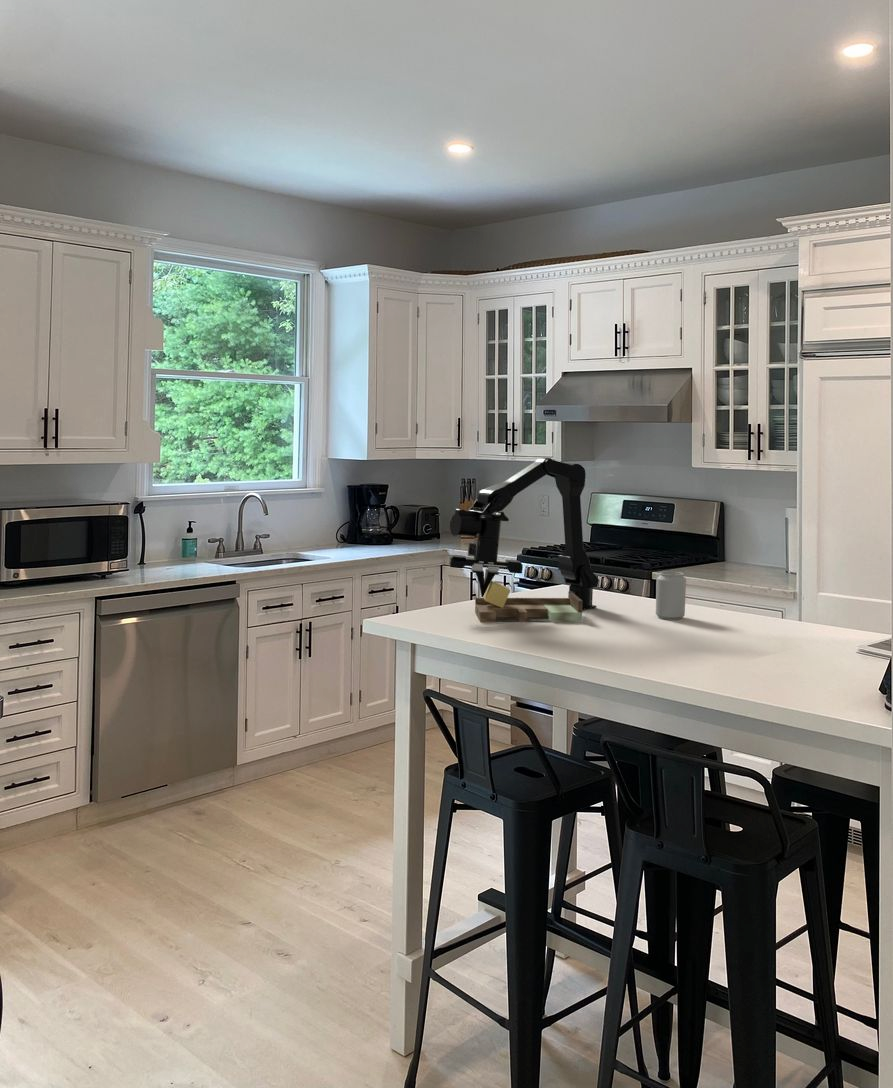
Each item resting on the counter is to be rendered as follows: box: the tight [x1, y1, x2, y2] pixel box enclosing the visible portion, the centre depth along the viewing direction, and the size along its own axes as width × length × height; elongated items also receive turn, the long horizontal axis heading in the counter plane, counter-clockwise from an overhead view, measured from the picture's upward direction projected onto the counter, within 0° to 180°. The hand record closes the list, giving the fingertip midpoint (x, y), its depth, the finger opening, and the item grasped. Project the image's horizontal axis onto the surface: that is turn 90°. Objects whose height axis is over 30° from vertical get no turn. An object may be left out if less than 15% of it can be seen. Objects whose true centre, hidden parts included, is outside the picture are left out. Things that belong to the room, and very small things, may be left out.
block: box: [482, 580, 511, 608], centre depth 255 cm, size 5×5×5 cm
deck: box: [474, 593, 583, 623], centre depth 254 cm, size 26×13×6 cm, turn 94°
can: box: [655, 571, 687, 621], centre depth 256 cm, size 8×8×12 cm
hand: (482, 596), depth 255 cm, fingers closed
